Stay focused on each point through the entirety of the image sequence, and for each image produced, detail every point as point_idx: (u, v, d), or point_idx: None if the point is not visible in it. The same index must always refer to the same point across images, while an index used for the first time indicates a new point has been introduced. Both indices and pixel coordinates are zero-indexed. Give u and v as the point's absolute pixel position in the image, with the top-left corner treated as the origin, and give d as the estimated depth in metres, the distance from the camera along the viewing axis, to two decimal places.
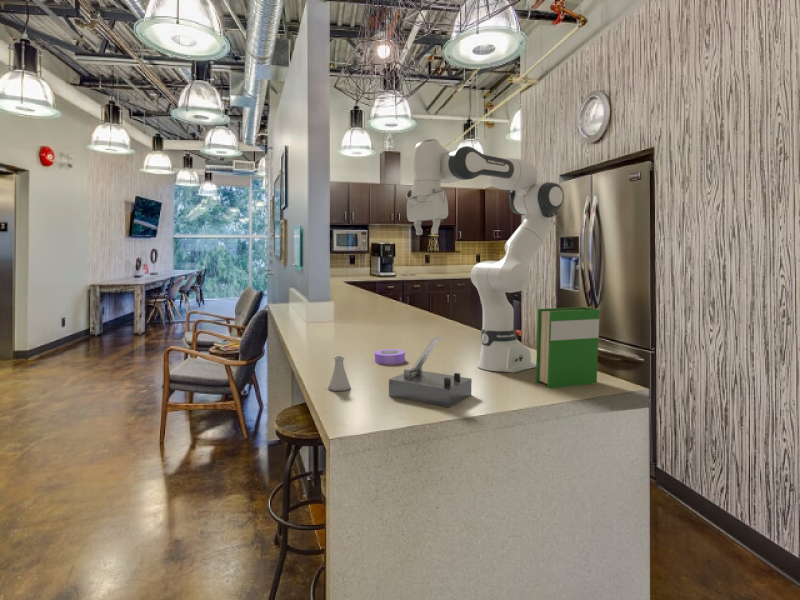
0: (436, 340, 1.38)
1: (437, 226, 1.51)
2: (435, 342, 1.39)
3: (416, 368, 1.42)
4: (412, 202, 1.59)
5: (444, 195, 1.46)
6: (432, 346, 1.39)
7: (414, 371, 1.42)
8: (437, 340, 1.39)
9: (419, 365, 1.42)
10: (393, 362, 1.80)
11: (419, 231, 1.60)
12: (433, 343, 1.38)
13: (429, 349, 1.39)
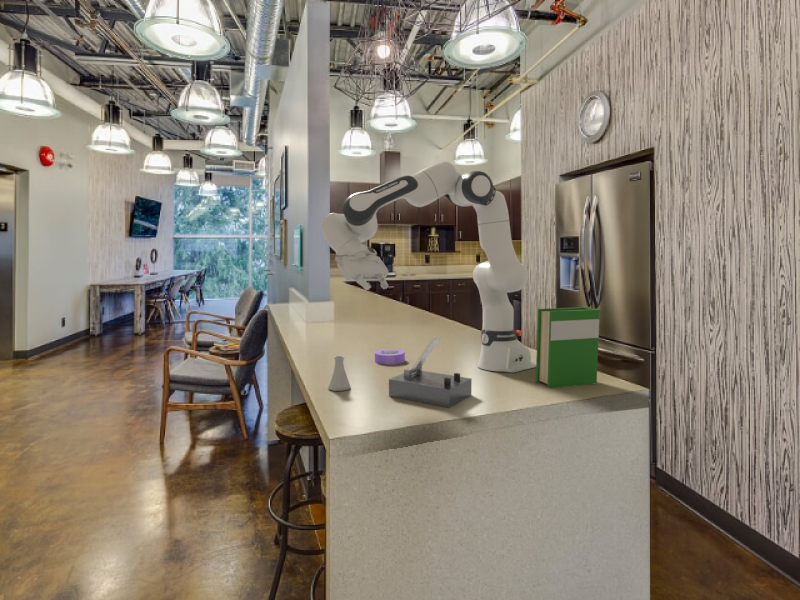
0: (436, 340, 1.38)
1: (363, 282, 1.44)
2: (435, 342, 1.39)
3: (416, 368, 1.42)
4: None
5: (336, 260, 1.43)
6: (432, 346, 1.39)
7: (414, 371, 1.42)
8: (437, 340, 1.39)
9: (419, 365, 1.42)
10: (393, 362, 1.80)
11: (382, 285, 1.52)
12: (433, 343, 1.38)
13: (429, 349, 1.39)
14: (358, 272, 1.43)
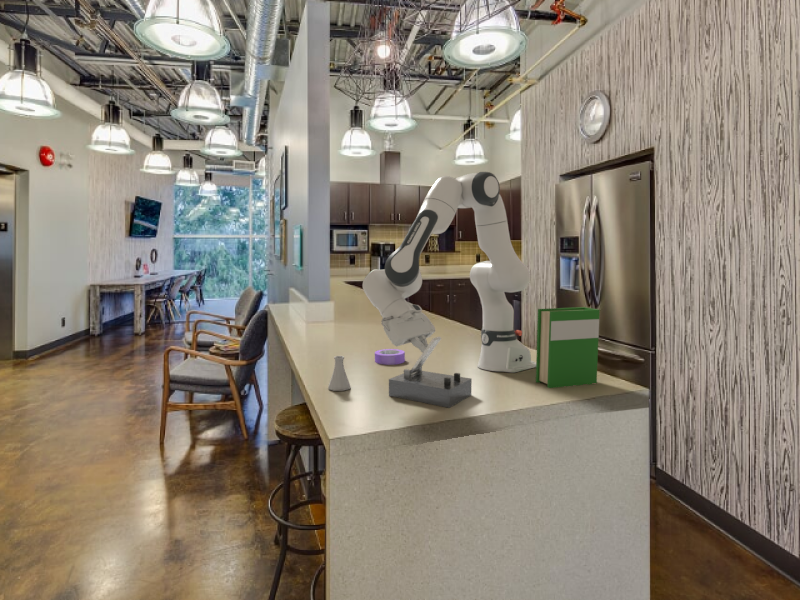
0: (436, 340, 1.38)
1: (419, 344, 1.39)
2: (435, 342, 1.39)
3: (416, 368, 1.42)
4: None
5: (383, 325, 1.35)
6: (432, 346, 1.39)
7: (414, 371, 1.42)
8: (437, 340, 1.39)
9: (419, 365, 1.42)
10: (393, 362, 1.80)
11: None
12: (433, 343, 1.38)
13: (429, 349, 1.39)
14: (407, 337, 1.35)
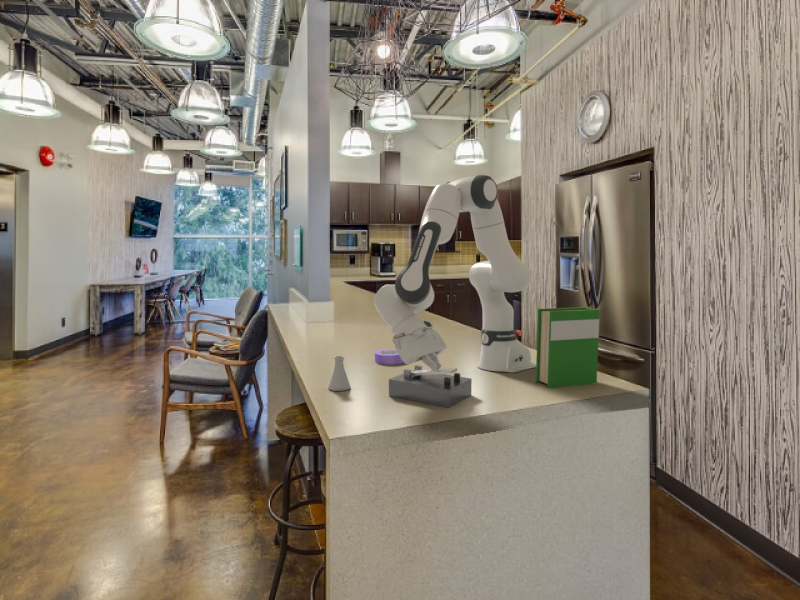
0: None
1: (430, 362, 1.38)
2: None
3: None
4: None
5: (395, 343, 1.34)
6: None
7: None
8: None
9: None
10: (393, 362, 1.80)
11: None
12: None
13: None
14: (418, 355, 1.34)
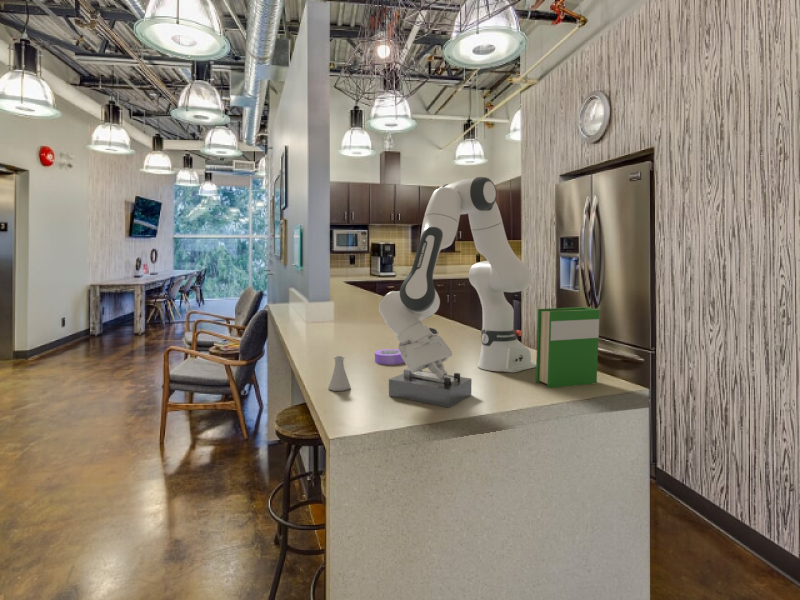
0: None
1: (436, 370, 1.37)
2: None
3: None
4: None
5: (400, 350, 1.33)
6: None
7: None
8: None
9: None
10: (393, 362, 1.80)
11: None
12: None
13: None
14: (424, 363, 1.33)
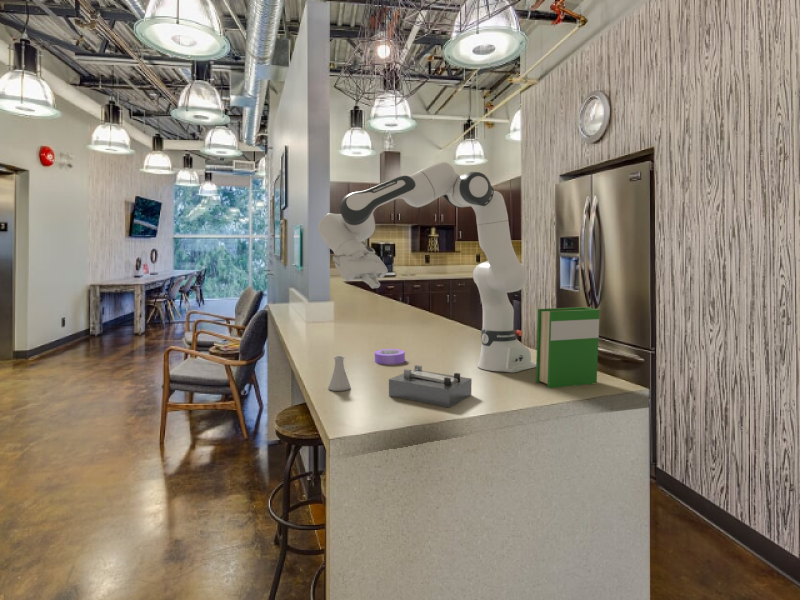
0: None
1: (369, 281, 1.48)
2: None
3: None
4: None
5: (334, 261, 1.44)
6: None
7: None
8: None
9: None
10: (393, 362, 1.80)
11: None
12: None
13: None
14: (356, 272, 1.44)
